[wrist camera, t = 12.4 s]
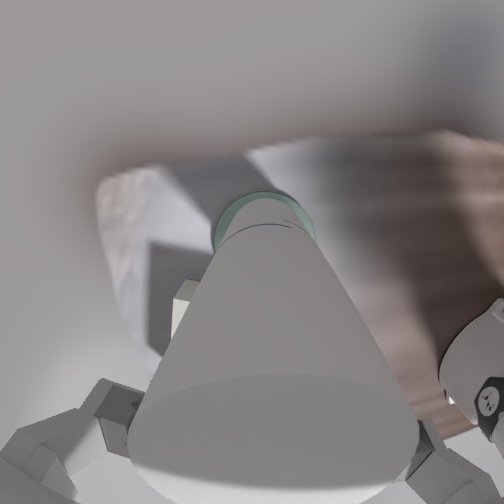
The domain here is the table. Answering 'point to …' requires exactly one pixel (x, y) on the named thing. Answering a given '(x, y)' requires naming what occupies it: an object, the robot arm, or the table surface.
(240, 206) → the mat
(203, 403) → the cylindrical container
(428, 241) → the table surface
